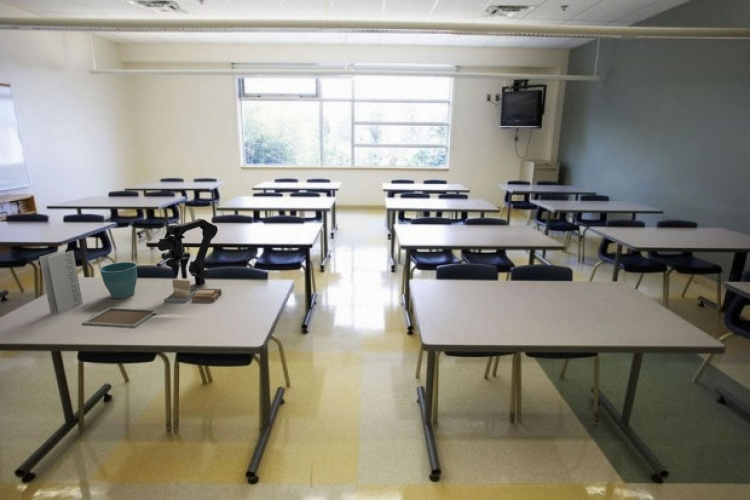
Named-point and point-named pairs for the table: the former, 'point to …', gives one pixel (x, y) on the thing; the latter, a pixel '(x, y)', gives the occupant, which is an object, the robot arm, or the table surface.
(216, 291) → the walnut rack
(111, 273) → the flower pot
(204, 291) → the upper oak offcut
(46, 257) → the brochure
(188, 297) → the gray tray
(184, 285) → the birch sheet
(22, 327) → the table surface
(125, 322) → the picture frame
